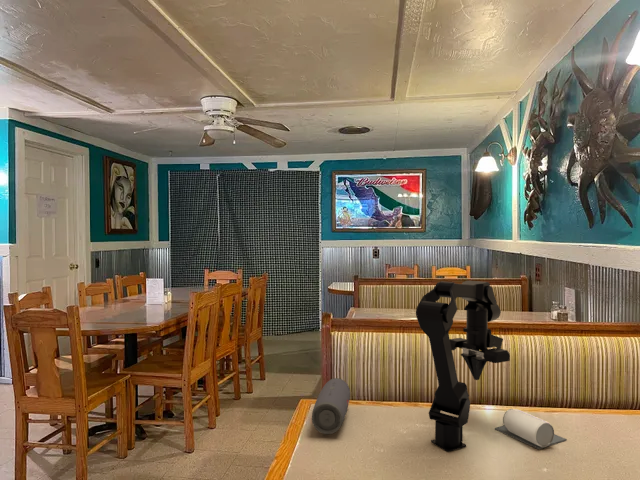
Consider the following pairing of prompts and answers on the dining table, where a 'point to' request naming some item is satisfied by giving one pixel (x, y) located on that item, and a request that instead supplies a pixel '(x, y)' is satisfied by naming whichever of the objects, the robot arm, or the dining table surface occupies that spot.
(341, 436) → the dining table surface
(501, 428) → the mat
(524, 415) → the can
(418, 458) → the dining table surface
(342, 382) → the bluetooth speaker
